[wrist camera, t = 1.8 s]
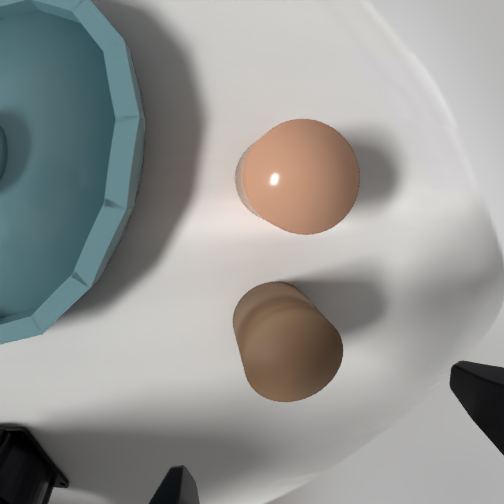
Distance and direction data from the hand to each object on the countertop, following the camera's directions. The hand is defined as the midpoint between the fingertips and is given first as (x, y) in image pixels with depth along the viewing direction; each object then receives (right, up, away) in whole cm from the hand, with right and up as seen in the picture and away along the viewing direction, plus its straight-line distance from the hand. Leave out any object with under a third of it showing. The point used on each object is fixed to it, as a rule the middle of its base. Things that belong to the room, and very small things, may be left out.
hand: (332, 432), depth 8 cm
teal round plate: (-17, +10, +4) cm, 20 cm away
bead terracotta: (-1, +9, +7) cm, 12 cm away
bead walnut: (-1, +2, +9) cm, 9 cm away
